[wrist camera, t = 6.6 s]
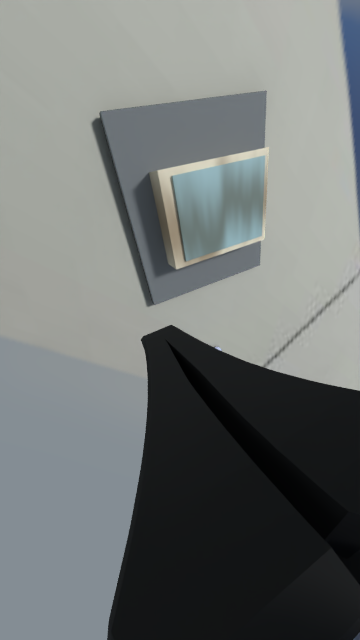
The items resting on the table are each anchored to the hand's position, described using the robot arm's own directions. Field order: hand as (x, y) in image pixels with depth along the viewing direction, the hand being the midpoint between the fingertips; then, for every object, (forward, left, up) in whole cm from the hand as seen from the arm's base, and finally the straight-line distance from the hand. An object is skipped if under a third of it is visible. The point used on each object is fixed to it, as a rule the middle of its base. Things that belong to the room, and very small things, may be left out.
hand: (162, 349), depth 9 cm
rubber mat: (+3, -8, -9) cm, 12 cm away
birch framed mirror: (+3, -4, -8) cm, 10 cm away
